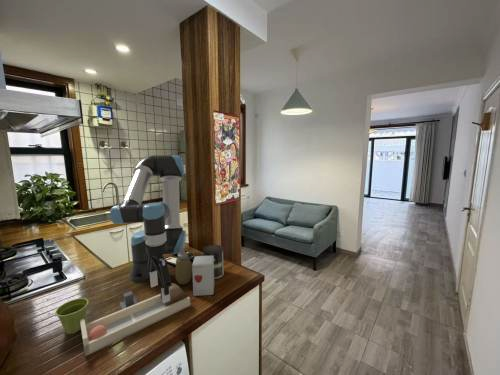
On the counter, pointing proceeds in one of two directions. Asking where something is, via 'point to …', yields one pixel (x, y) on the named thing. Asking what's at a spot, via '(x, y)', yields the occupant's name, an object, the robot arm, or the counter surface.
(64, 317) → the plant pot
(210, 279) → the supplement box
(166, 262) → the robot arm
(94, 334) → the ball
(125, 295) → the tee
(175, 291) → the hump
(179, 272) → the squeeze bottle
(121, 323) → the tray
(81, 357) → the counter surface
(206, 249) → the coffee can
